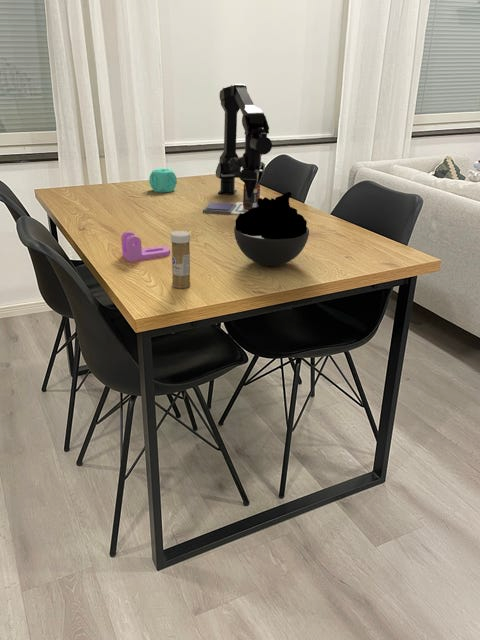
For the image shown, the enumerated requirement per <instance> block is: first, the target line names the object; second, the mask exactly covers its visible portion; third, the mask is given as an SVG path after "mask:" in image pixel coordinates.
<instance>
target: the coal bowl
mask: <svg viewBox="0 0 480 640" xmlns="http://www.w3.org/2000/svg"><path fill="white" fill-rule="evenodd" d="M291 197H292V193H291V192H290V191H287V192H286V193H283V194H282V195H280V196H276V197H275V198H268V197H265V196H264V197H263V198H262V197H260V198H258V202H257V203H258V206H259V207H255V208H252V209H249V210H248V211H247V212H245V213H243V214H241V213H240V214H239V215H238V216H237V217H236V220H235V225H234V227H233V233H234V238H235V242H236V244H237V245H238V248H239V249H240V251H241V252H242V254H243V255H244V256H245V257H247V258H248V259H249V260H251V261H252V262H254V263H256V264H257V265H261V266H266V267H276V266H282V265H285V264H288V263H289V262H291V261H292V260H294V259H295V258H297V257H298V256H299V254H300V253H302V251H303V250H304V247H306V245H307V242H308V239H309V237H310V229H309V227H307V224H308V222H307V220H306V219H305V217H304V216H303V215H302V214H300V213H298V209H297V208H295V207H292V206H291V205H290V198H291Z"/></svg>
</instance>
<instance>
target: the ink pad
mask: <svg viewBox="0 0 480 640" xmlns="http://www.w3.org/2000/svg"><path fill="white" fill-rule="evenodd" d="M236 206H237V204H236V203H231V202H230V203H229V202H228V203H226V202H216V201H215V202H214V201H212V202H209V203H208V204H207V205H206V206H205V207H204V208H203V209H202V213H206V214H219V215H220V214H221V215H232V214H231V212H232V211H233V210H234V208H235V207H236Z"/></svg>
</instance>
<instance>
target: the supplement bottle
mask: <svg viewBox="0 0 480 640" xmlns="http://www.w3.org/2000/svg"><path fill="white" fill-rule="evenodd" d="M260 193H261V184H260V182H259V183H258V181H257V184H256V186H255V189H254V191H253V194H252V196H251V198H249V197H248V195H247V190H246V186H245V183H244V184H243V195H242V197H243V200H242V203H243V208H244V209H247V210H249V209H252V208H255V207H259V206H258V203H257V202H258V198H261V197H260V196H261V194H260Z"/></svg>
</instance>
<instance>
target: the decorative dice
mask: <svg viewBox="0 0 480 640" xmlns="http://www.w3.org/2000/svg"><path fill="white" fill-rule="evenodd" d="M148 180H149V186H150V188H151V190H152V191H154V192H156V193H171V192H173V191H174V190H175V189H176V186H177V184H178V182H177V181H178V178H177V175H176V173H175V172H174V171H173V170H172V169H169V168H155V169H153V170H152V172H151V173H150V175H149V179H148Z"/></svg>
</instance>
